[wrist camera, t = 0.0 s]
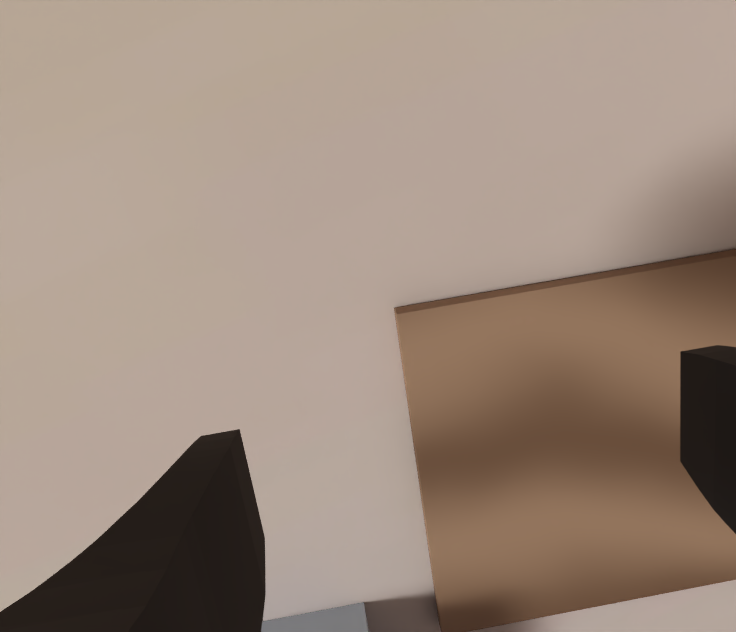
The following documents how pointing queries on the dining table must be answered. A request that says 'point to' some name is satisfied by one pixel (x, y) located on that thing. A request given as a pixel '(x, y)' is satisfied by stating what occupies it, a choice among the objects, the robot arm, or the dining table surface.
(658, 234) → the dining table surface
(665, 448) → the walnut board
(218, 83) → the dining table surface
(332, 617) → the blue cube
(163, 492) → the robot arm
